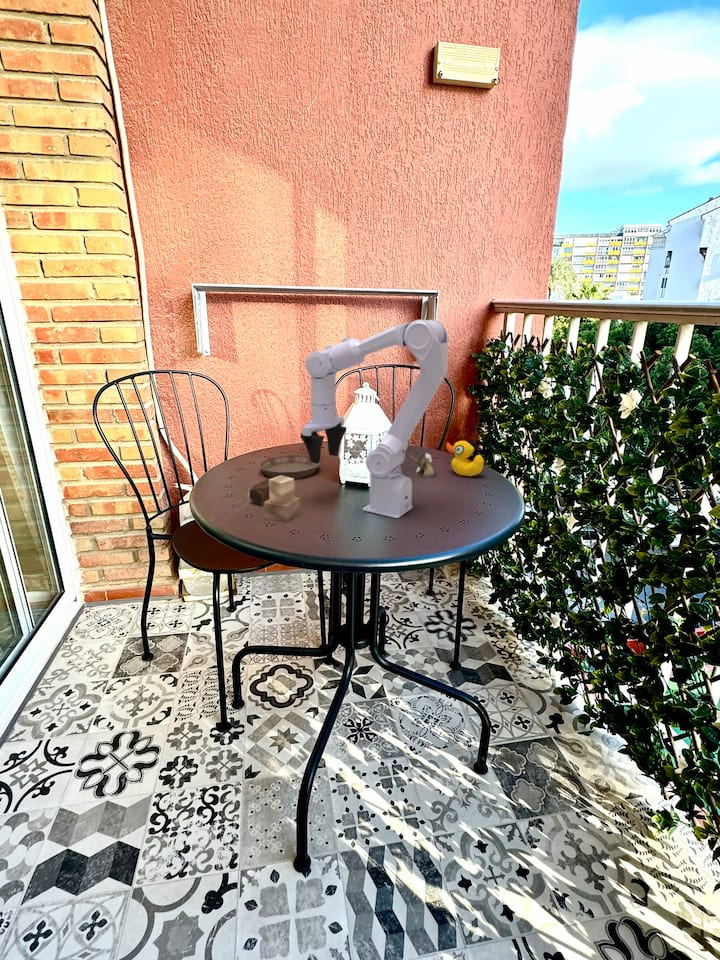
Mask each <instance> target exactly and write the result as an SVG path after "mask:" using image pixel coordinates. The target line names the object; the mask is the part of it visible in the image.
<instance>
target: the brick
mask: <svg viewBox="0 0 720 960" xmlns="http://www.w3.org/2000/svg"><path fill="white" fill-rule="evenodd" d="M276 477H278V476H276ZM272 478H275V477H270V478H269V479H272ZM269 479H266V480H264V481H261V482H258V483H255V484H254V485H253V486H252V487H251V489H249V492H248V493H249V498H250V500H251V502H252V504H257V505H258V506H264V504H263V503H264V502H266V501H267V500H269V499H270V495H269Z"/></svg>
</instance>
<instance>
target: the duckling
mask: <svg viewBox="0 0 720 960" xmlns="http://www.w3.org/2000/svg"><path fill="white" fill-rule="evenodd" d="M445 447H446V450H447V452H448V453H449V454H452V455H453V454H454V458H452V460H451V462H450V464H451V465H450V466H451V468H452V470H453V471H454V472H455V473H456V474H457V475H459V476H464V477H465V476H466V477H474V476H477V475H479V474H480V473H481V472H482V471H483V469H484V465H485V459H484V458H483V457H482V455H481V454H477V455H475V457H474V458H473V461H470V460H469V459H468V458H469V457H470V456H471V455H472V454H473V453H474V451H475V447H474V446H473V445H471V443H469V442H468V441H466V440H459V441H457V442H455V443H454V444H453V445H451V444H450V443H449V442H446V445H445Z"/></svg>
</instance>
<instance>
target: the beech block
mask: <svg viewBox="0 0 720 960" xmlns="http://www.w3.org/2000/svg"><path fill="white" fill-rule="evenodd" d="M271 478H272V479H271ZM271 478H269V495H270V501H273V502H276V503H279V504H285V503H287V502H290V501H292V500H294V499H295V497H296V496H295V495H296V494H295V493H296V492H295V478H290V477H286V476H282V475H281V476H278V477H275V478H274V477H271Z"/></svg>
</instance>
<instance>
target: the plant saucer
mask: <svg viewBox="0 0 720 960" xmlns="http://www.w3.org/2000/svg"><path fill="white" fill-rule="evenodd" d="M320 464H321V462H320V463H318V464H317V463H311V460H310V456H309V455H306V454H305V455H304V454H287V455H286V454H285V455H278V456H272V457H270V458H267V459H263V460H262V461H261V462H260V463H259V464H258V466H259V468H260V469H261V470H262V472H263V473H264V474H266V475H267V476H268V477H270V476H271V477H270V478H274V477H276V476H281V475H282V476H286V477H290V478H294V479H300V477H301V478H304V476H305V477H307V476H310V475H312V474H314V472H315V471H317V469H318V467H320Z"/></svg>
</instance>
